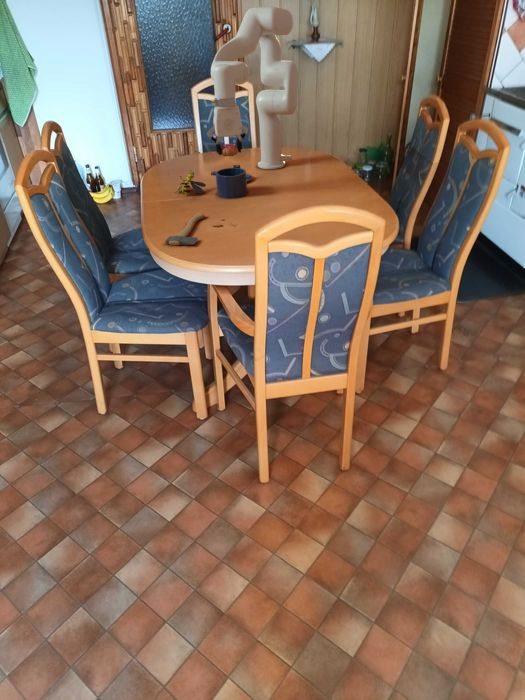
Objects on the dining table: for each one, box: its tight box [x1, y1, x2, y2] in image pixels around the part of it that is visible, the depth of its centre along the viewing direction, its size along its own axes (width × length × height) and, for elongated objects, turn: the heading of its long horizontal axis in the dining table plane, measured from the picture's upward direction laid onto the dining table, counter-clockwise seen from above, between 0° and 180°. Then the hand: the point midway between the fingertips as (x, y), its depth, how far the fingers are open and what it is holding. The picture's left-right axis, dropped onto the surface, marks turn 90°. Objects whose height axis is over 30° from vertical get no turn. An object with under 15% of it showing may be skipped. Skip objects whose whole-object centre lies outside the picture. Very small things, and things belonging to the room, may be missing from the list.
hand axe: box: [165, 212, 205, 246], centre depth 182 cm, size 27×2×10 cm
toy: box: [174, 169, 207, 196], centre depth 211 cm, size 12×8×15 cm
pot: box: [210, 167, 253, 199], centre depth 210 cm, size 12×17×8 cm
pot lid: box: [232, 164, 253, 183], centre depth 225 cm, size 13×13×6 cm
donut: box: [221, 143, 239, 157], centre depth 203 cm, size 7×7×4 cm
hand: (229, 152), depth 203 cm, fingers closed on donut, 7 cm apart
